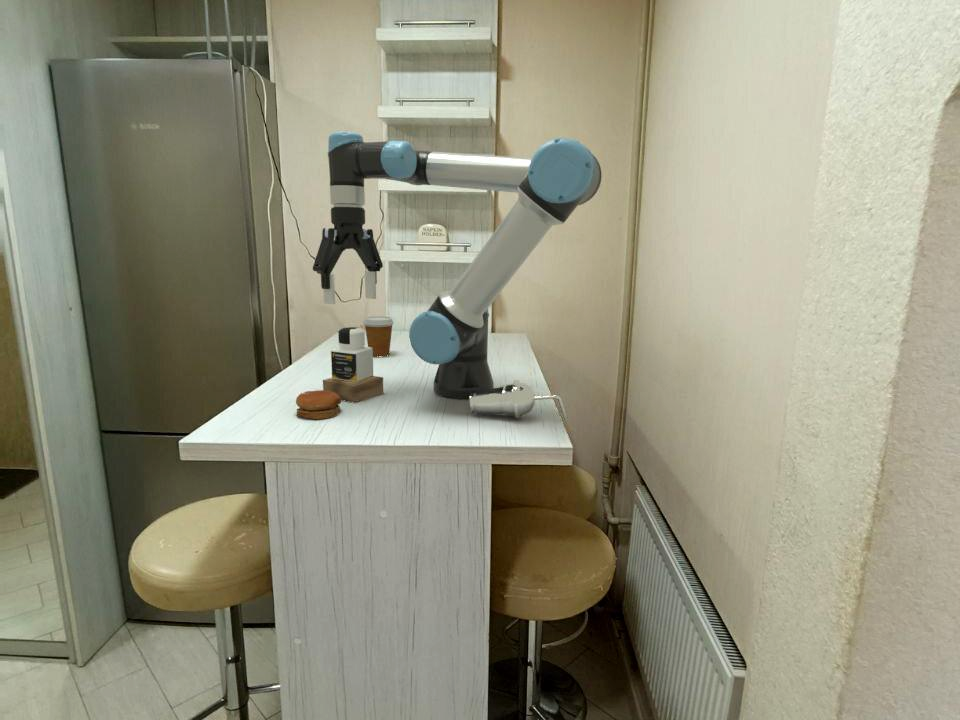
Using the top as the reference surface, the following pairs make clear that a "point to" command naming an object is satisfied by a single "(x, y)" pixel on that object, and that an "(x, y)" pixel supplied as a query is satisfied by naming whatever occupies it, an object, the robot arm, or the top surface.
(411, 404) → the top surface
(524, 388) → the cup with straw
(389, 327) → the disposable coffee cup
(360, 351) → the medicine bottle
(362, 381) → the plinth
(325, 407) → the burger
